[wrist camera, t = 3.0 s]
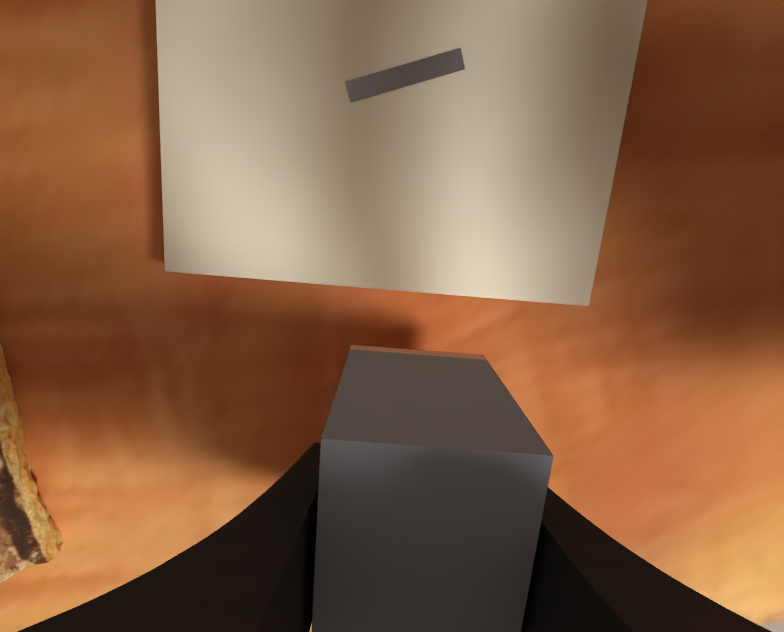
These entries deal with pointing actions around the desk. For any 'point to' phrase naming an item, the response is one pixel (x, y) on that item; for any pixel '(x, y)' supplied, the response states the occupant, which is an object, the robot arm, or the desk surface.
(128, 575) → the desk surface
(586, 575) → the robot arm
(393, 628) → the block
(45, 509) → the shard
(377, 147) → the cream flat board
